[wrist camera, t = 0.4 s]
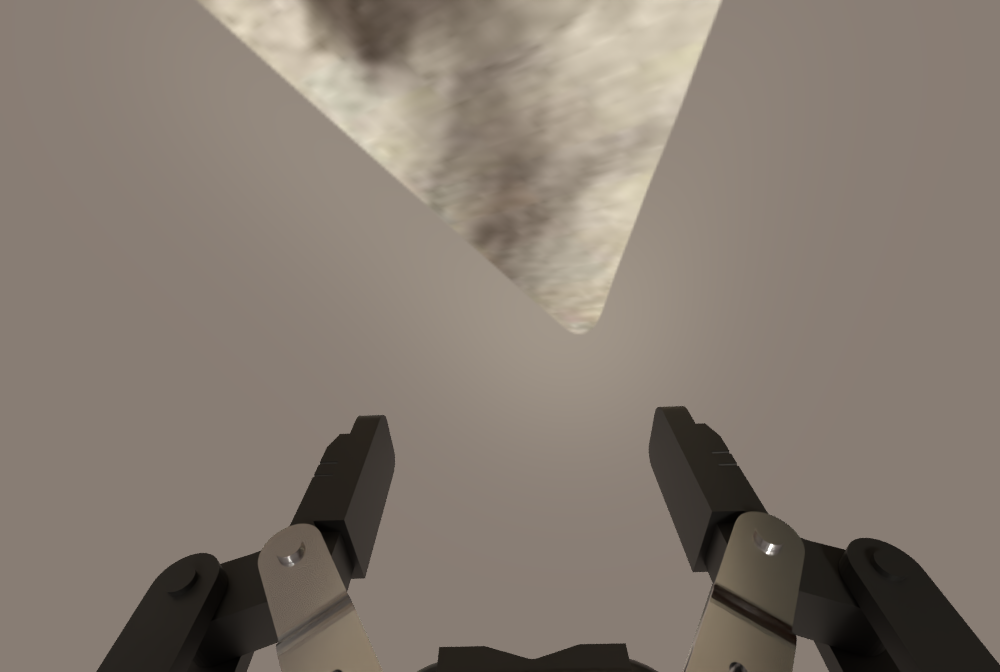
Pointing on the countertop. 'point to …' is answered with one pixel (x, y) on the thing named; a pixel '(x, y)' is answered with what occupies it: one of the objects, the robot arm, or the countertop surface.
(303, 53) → the countertop surface
